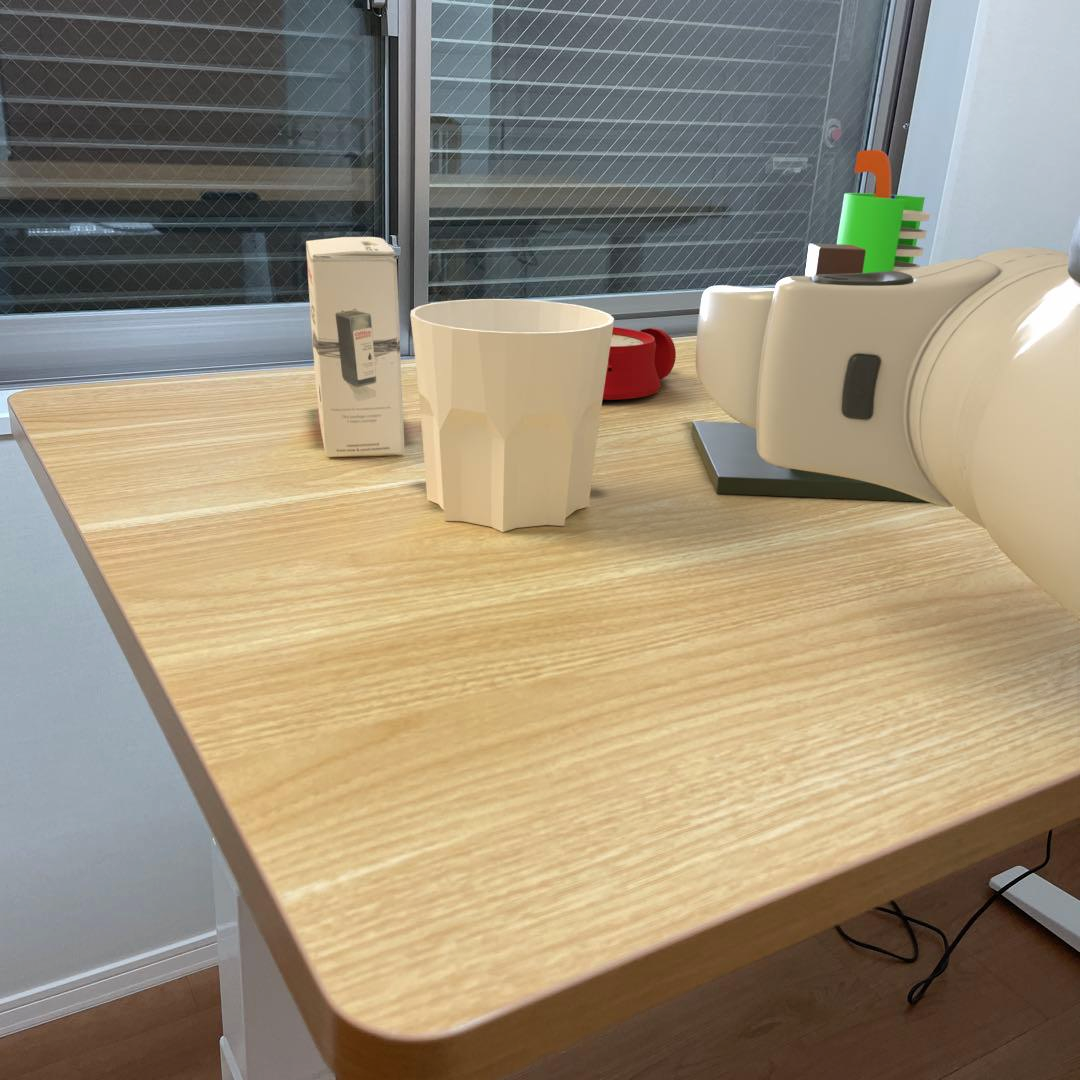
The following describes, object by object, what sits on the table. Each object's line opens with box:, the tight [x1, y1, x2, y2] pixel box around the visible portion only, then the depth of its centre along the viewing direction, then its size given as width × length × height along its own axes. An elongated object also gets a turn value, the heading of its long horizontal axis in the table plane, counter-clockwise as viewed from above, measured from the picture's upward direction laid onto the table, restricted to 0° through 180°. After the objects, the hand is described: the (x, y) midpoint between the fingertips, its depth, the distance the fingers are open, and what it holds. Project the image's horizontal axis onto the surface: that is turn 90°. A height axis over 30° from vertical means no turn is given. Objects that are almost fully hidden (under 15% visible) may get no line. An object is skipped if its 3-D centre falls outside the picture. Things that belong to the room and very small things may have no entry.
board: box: [690, 420, 929, 503], centre depth 63 cm, size 13×12×1 cm
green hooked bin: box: [836, 149, 931, 273], centre depth 96 cm, size 9×8×18 cm
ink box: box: [305, 236, 405, 458], centre depth 63 cm, size 9×5×12 cm, turn 14°
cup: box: [410, 298, 615, 533], centre depth 53 cm, size 10×10×10 cm
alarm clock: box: [602, 326, 677, 401], centre depth 81 cm, size 10×6×15 cm
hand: (899, 317), depth 48 cm, fingers open, 8 cm apart
